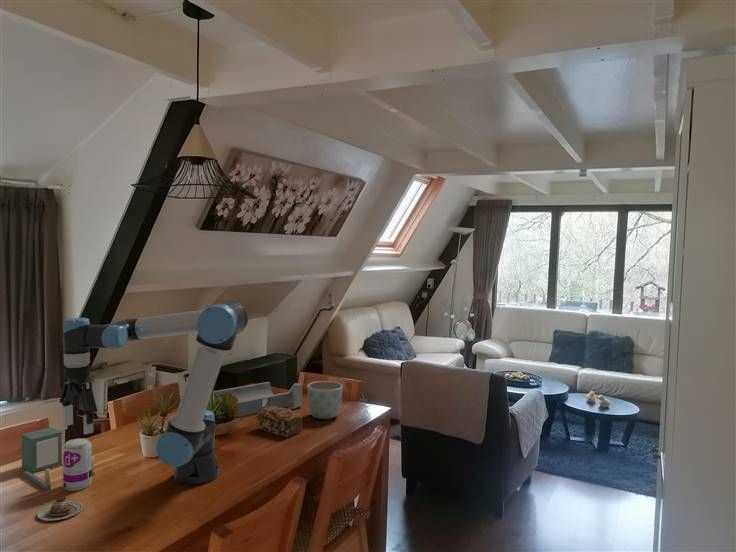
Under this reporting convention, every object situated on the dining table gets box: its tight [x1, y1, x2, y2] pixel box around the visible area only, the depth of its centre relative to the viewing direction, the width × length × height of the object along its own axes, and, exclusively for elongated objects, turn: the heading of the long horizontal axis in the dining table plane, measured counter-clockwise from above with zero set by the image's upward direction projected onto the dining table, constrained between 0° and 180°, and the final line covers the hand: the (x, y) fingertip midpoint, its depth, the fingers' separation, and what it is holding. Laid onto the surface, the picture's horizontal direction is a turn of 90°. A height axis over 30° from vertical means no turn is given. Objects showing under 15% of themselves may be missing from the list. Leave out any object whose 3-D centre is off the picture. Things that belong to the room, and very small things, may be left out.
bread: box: [255, 406, 303, 438], centre depth 239 cm, size 19×11×10 cm, turn 57°
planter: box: [306, 380, 343, 420], centre depth 260 cm, size 17×17×15 cm
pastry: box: [36, 496, 84, 522], centre depth 162 cm, size 12×12×5 cm
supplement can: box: [62, 437, 92, 492], centre depth 179 cm, size 8×8×15 cm
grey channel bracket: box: [212, 381, 304, 418], centre depth 274 cm, size 33×32×13 cm
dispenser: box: [21, 426, 95, 492], centre depth 189 cm, size 26×16×12 cm, turn 54°
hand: (78, 429), depth 178 cm, fingers open, 13 cm apart
